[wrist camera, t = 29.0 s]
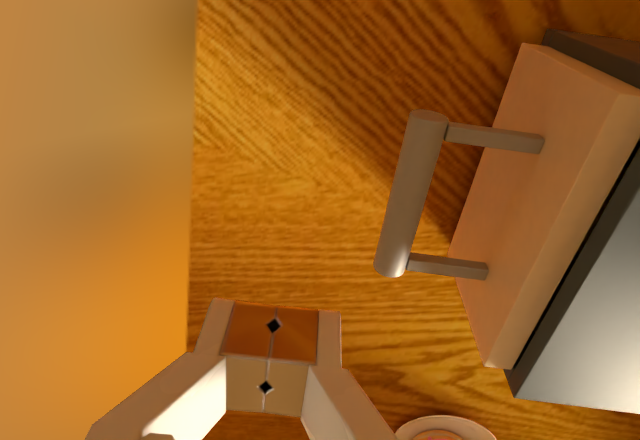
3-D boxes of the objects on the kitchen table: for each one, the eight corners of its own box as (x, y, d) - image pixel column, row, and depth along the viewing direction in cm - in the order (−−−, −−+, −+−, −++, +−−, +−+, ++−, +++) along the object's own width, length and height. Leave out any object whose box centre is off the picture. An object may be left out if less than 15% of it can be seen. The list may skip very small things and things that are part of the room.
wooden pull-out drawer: (361, 242, 24) (366, 351, 18) (408, 25, 18) (442, 67, 12) (677, 285, 25) (798, 408, 18) (827, 86, 19) (1092, 160, 12)
